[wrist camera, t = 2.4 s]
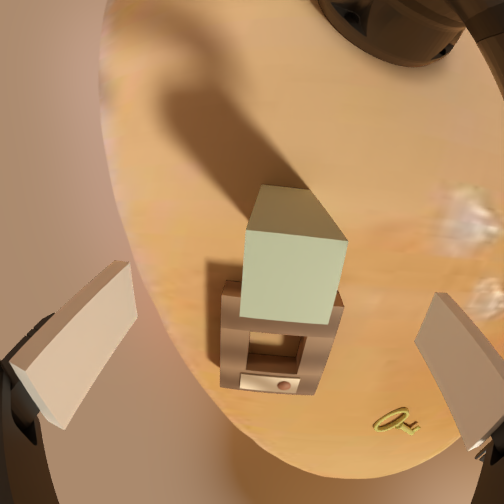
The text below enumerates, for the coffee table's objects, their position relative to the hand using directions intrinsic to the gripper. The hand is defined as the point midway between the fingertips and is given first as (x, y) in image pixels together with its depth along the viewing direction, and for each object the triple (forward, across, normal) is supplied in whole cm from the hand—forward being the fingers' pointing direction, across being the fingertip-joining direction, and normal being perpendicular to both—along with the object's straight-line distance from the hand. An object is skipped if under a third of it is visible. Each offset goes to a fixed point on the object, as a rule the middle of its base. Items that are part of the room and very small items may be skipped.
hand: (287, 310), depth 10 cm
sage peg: (+16, 0, 0) cm, 16 cm away
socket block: (+16, +1, -15) cm, 22 cm away
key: (+17, +28, -36) cm, 48 cm away
